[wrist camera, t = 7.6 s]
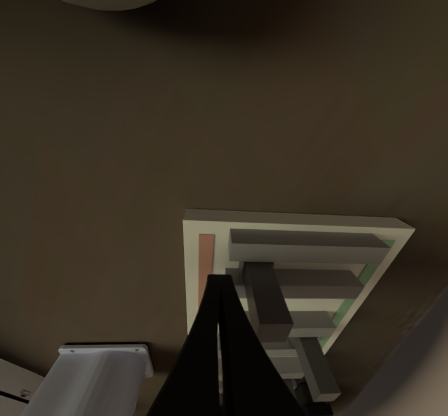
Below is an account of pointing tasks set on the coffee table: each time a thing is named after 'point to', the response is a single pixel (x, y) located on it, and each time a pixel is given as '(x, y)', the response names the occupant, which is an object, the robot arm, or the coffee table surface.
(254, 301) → the breaker
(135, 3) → the teacup
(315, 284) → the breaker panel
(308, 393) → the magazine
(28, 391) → the laminator
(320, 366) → the breaker mid
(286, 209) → the coffee table surface
